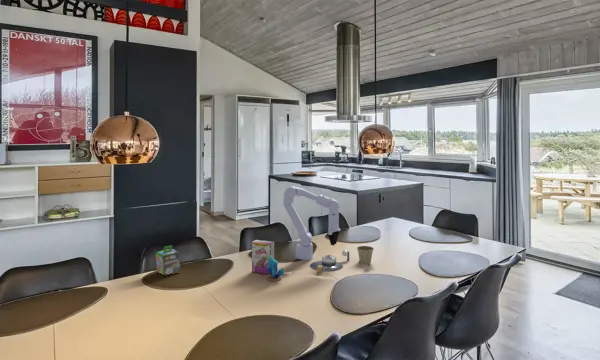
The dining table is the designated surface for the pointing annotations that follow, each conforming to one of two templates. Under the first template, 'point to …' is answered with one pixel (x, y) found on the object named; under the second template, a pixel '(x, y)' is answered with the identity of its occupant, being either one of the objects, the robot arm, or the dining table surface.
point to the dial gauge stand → (346, 254)
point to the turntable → (325, 267)
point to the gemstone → (274, 270)
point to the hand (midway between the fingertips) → (333, 244)
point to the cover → (329, 260)
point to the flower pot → (365, 254)
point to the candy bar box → (261, 255)
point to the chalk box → (167, 261)
